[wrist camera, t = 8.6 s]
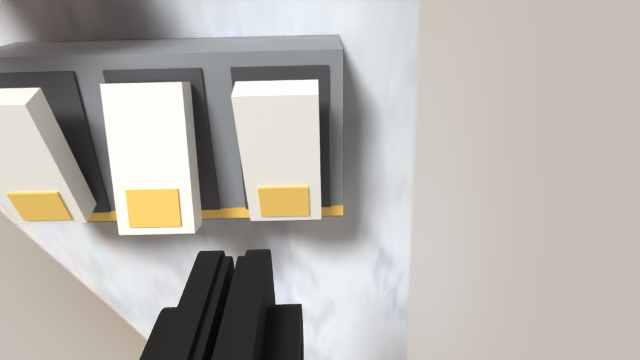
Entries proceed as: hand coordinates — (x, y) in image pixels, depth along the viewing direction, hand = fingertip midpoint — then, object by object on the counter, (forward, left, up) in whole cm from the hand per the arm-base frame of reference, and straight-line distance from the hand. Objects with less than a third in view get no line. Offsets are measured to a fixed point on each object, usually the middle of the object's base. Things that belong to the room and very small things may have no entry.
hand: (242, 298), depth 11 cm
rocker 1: (+1, -12, -11) cm, 16 cm away
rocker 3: (+1, 0, -11) cm, 11 cm away
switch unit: (+1, -6, -17) cm, 18 cm away
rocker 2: (+1, -6, -11) cm, 12 cm away
